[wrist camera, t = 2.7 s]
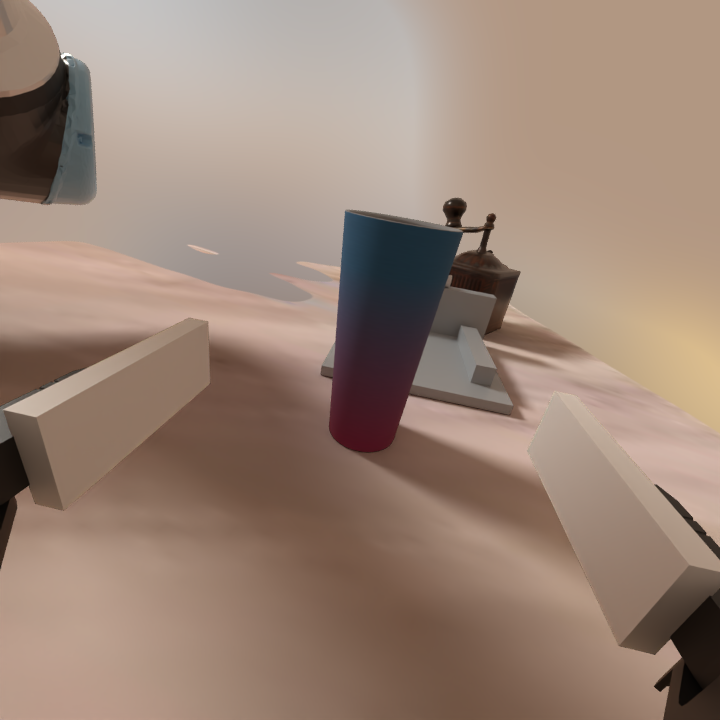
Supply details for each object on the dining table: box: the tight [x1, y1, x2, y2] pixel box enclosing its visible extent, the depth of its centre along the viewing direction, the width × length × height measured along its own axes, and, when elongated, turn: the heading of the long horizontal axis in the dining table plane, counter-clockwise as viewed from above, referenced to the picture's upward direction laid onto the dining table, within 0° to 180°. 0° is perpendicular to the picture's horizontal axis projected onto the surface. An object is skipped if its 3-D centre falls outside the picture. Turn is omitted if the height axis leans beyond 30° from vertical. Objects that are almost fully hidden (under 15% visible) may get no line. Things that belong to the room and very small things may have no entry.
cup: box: [329, 210, 463, 452], centre depth 23 cm, size 7×7×15 cm
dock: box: [321, 275, 513, 415], centre depth 38 cm, size 18×18×9 cm
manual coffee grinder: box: [443, 198, 520, 335], centre depth 54 cm, size 16×11×18 cm
